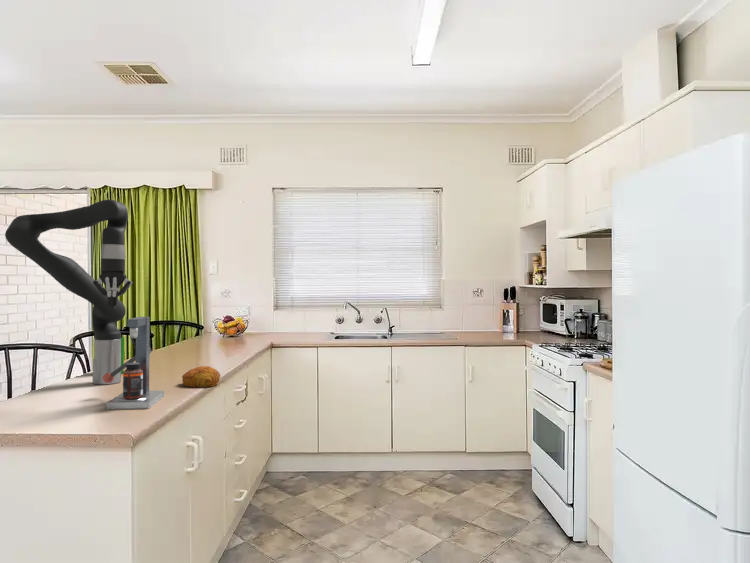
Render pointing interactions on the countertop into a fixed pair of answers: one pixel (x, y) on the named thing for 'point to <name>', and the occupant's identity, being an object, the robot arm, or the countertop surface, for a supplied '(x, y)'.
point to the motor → (122, 353)
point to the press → (149, 398)
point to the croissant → (201, 377)
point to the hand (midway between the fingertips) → (112, 307)
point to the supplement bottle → (132, 381)
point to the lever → (118, 370)
